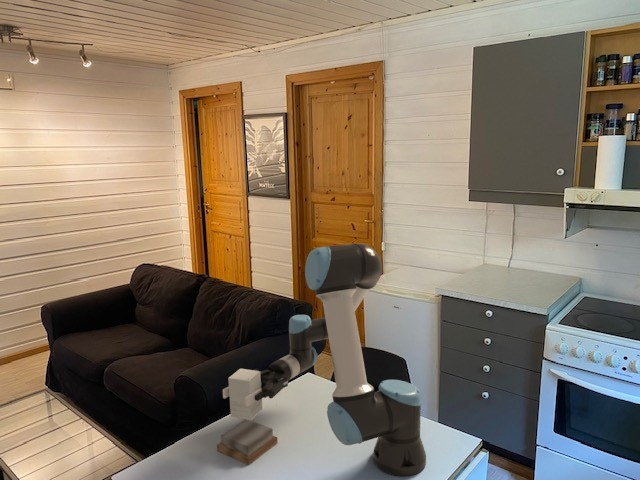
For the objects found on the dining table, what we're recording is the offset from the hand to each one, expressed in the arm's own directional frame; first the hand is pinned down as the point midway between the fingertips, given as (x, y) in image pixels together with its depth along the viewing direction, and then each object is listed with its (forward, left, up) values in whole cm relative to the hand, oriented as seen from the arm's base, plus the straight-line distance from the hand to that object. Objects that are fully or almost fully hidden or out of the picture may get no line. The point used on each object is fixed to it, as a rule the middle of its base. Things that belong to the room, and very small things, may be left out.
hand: (234, 397), depth 143 cm
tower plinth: (0, -4, -18) cm, 18 cm away
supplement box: (0, -5, -7) cm, 9 cm away
